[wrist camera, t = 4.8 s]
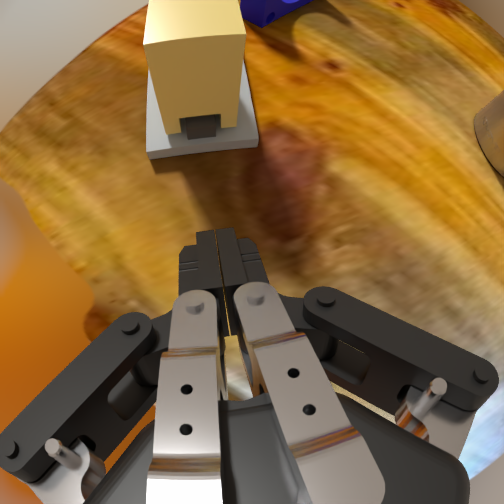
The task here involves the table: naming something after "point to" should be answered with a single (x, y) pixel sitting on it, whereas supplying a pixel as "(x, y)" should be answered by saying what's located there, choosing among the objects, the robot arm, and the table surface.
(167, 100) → the pale yellow block
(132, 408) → the robot arm
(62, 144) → the table surface
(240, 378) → the table surface
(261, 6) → the blue stepped block
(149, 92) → the comb board
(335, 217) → the table surface
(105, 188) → the table surface
